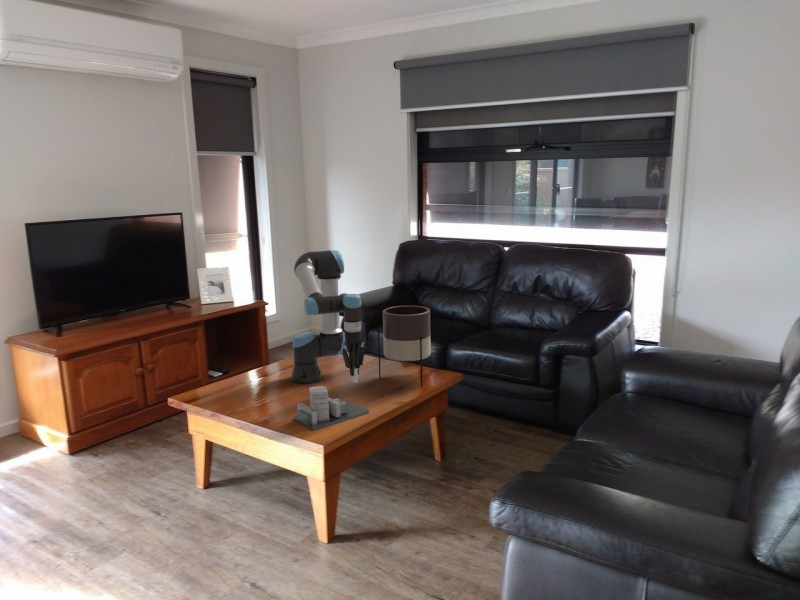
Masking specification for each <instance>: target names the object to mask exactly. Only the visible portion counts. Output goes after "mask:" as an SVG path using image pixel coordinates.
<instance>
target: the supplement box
mask: <svg viewBox="0 0 800 600" xmlns="http://www.w3.org/2000/svg"><path fill="white" fill-rule="evenodd" d="M308 389H309V392H308V393H309V405H310V406H309V407H310V408H312V409H314V410H316V412H317V421H324V420H329V404H328V397H329V391H328V388H327V386H326V385H321V386H312V387H311V386H310V387H309V388H308Z"/></svg>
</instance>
